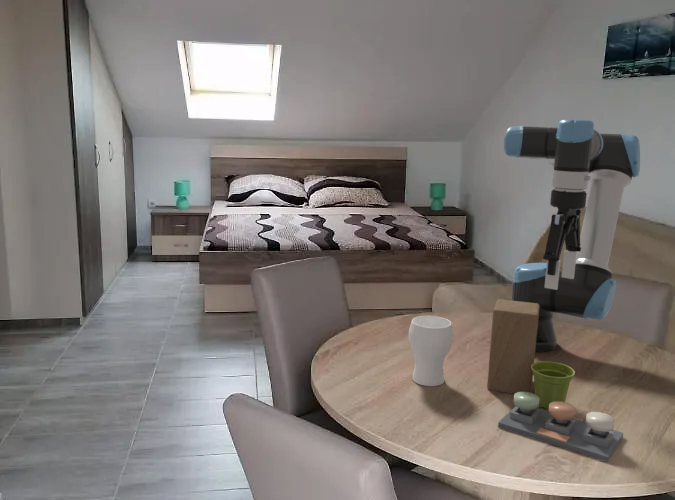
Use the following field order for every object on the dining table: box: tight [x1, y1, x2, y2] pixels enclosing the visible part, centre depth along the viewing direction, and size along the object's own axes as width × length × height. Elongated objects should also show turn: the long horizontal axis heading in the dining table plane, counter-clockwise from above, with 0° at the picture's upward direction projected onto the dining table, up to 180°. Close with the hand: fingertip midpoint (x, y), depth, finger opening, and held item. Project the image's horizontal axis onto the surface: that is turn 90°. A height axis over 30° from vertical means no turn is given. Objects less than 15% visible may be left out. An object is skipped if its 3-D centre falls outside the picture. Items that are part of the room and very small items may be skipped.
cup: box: [408, 315, 454, 387], centre depth 155 cm, size 11×11×15 cm
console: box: [497, 405, 624, 462], centre depth 132 cm, size 22×12×2 cm, turn 54°
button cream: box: [585, 411, 615, 435], centre depth 127 cm, size 5×5×3 cm
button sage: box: [513, 392, 540, 413], centre depth 136 cm, size 5×5×3 cm
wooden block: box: [486, 298, 539, 394], centre depth 152 cm, size 10×10×20 cm
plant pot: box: [531, 360, 576, 411], centre depth 144 cm, size 9×9×9 cm
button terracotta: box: [547, 401, 577, 423], centre depth 131 cm, size 5×5×3 cm
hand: (559, 283), depth 148 cm, fingers open, 12 cm apart
